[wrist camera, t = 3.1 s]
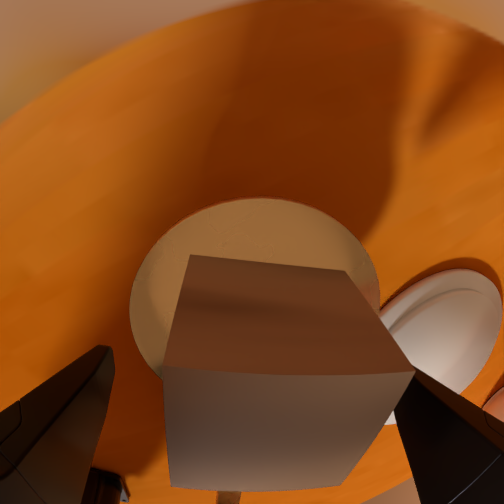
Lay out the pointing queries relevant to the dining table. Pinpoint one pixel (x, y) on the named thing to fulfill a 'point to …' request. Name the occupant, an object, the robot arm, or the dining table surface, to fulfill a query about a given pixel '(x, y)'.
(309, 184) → the dining table surface
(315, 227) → the balance
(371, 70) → the dining table surface
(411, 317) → the dish
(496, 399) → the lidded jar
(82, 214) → the dining table surface
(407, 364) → the block
